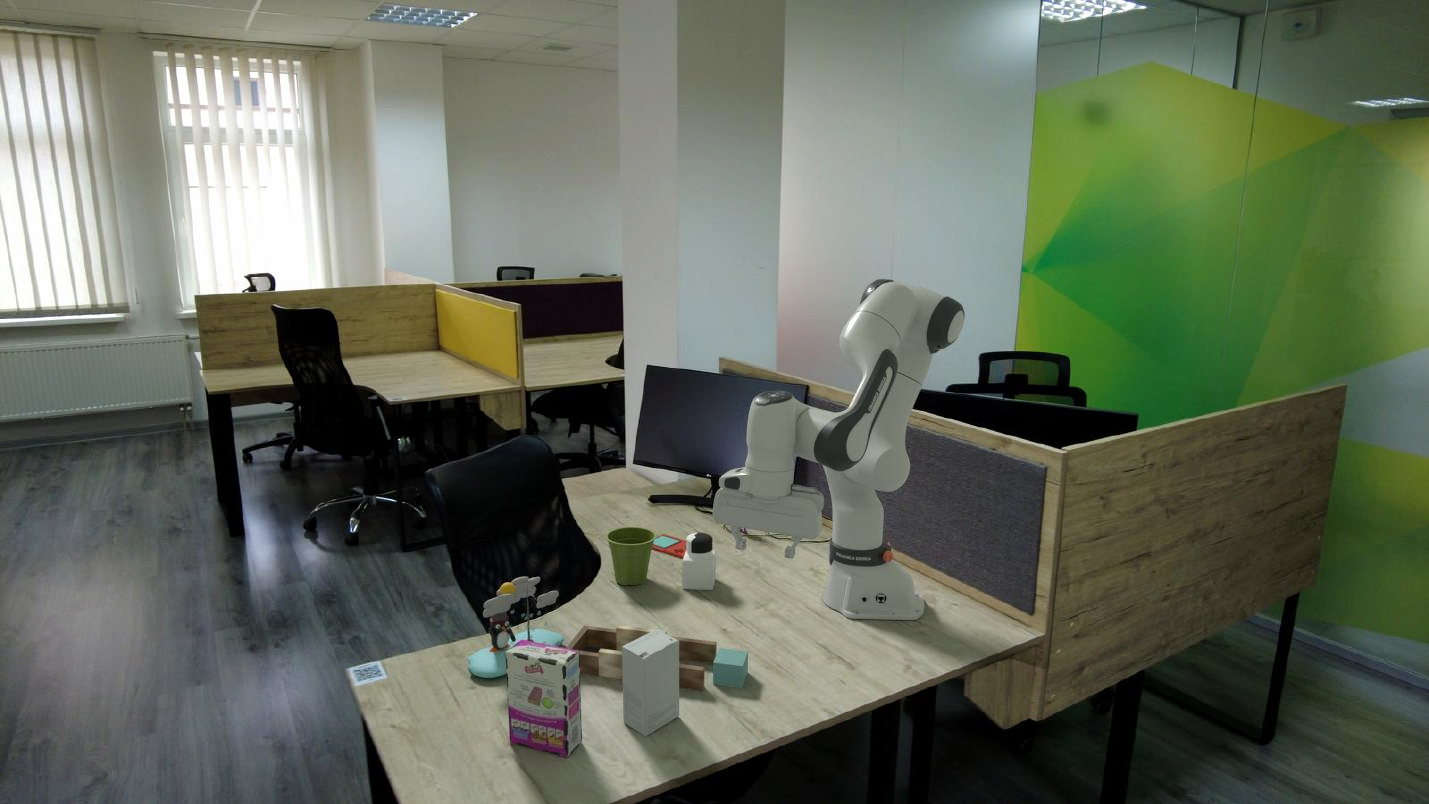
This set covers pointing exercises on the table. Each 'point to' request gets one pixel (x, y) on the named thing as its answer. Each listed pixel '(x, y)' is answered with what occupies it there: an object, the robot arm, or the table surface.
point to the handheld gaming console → (670, 545)
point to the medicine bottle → (699, 563)
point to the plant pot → (631, 553)
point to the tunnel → (605, 645)
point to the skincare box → (650, 681)
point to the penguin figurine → (494, 657)
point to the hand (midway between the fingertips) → (765, 553)
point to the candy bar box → (544, 697)
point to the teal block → (730, 667)
